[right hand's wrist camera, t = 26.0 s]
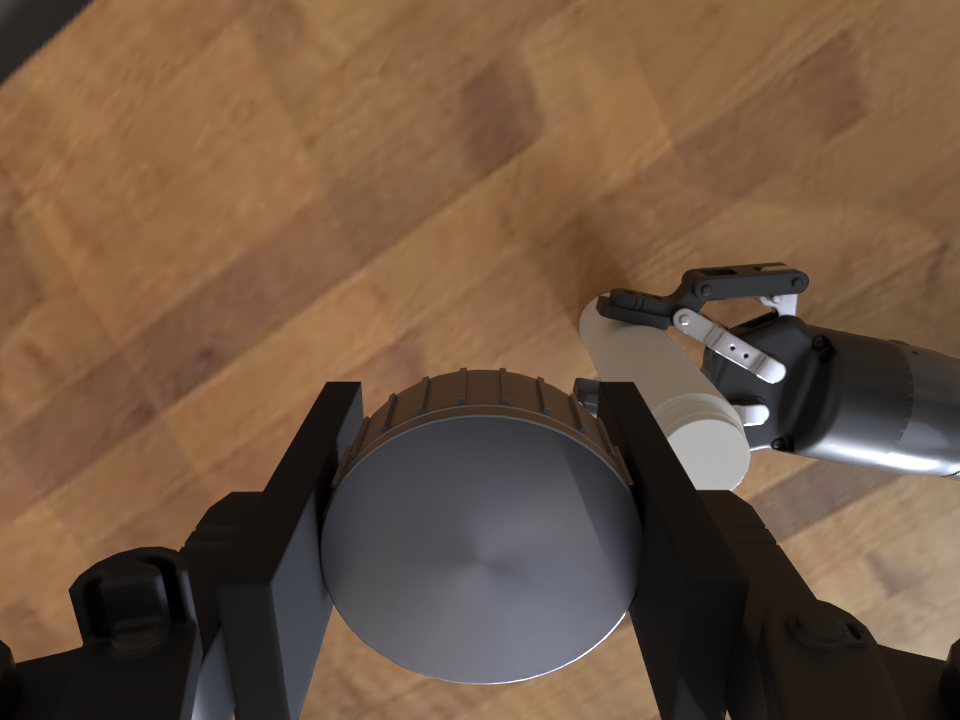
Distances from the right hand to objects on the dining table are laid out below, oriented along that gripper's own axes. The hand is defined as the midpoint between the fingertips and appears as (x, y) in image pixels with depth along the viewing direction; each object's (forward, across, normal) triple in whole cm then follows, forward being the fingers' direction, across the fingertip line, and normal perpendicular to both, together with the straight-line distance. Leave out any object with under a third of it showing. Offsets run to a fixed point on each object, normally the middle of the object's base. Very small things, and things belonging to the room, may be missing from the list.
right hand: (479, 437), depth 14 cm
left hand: (+21, +6, -5) cm, 23 cm away
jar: (+27, +9, -6) cm, 29 cm away
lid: (-4, 0, 0) cm, 4 cm away
